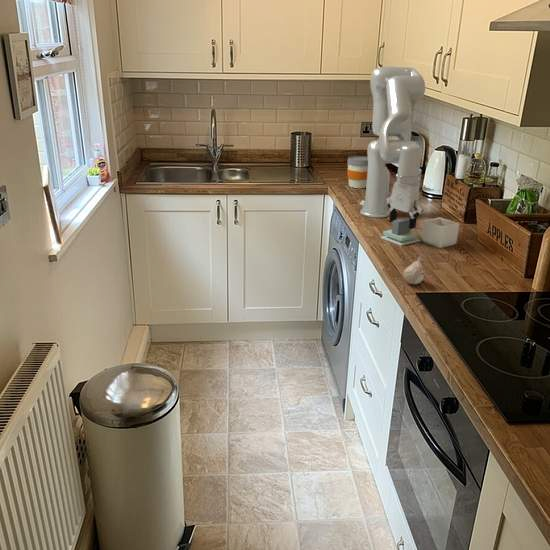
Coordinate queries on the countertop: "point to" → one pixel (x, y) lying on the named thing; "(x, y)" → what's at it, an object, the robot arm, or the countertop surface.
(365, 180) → the reusable coffee cup
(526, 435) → the countertop surface
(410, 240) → the mat
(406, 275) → the garlic bulb
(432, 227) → the tub
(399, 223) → the lid
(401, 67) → the robot arm
